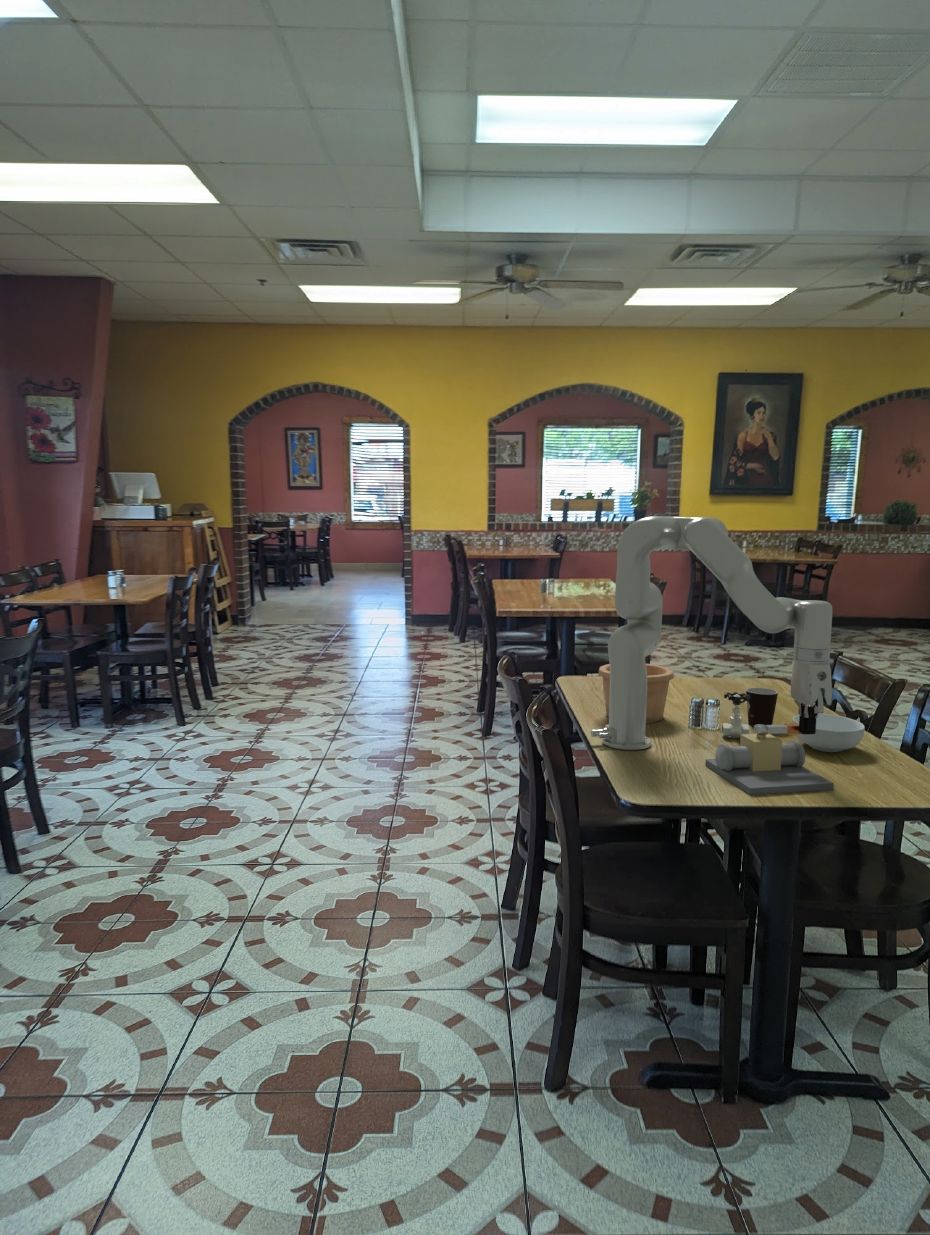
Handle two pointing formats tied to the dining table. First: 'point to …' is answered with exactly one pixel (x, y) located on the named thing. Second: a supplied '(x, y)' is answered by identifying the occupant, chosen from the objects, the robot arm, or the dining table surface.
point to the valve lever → (777, 729)
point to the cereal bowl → (833, 733)
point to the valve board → (773, 779)
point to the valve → (735, 717)
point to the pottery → (655, 689)
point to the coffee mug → (761, 705)
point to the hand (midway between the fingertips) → (807, 733)
